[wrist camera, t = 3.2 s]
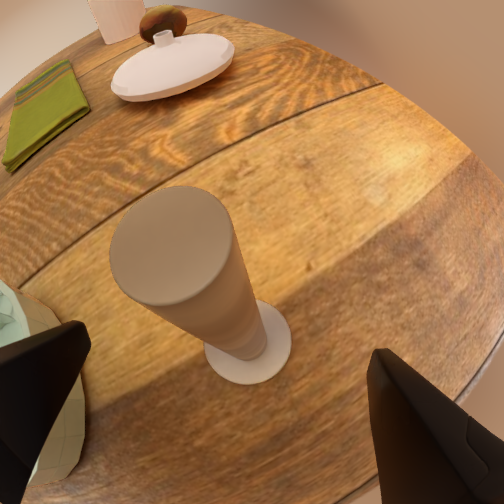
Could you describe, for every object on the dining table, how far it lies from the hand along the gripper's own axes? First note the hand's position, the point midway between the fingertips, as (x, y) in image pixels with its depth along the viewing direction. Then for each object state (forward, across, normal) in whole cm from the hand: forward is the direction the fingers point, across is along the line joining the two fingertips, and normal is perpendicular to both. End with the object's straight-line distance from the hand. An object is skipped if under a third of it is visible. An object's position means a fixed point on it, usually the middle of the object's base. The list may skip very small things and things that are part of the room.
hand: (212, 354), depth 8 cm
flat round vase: (+28, +12, -16) cm, 35 cm away
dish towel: (+32, +41, -19) cm, 55 cm away
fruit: (+40, +18, -27) cm, 51 cm away
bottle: (+51, +34, -38) cm, 72 cm away
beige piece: (+7, 0, +5) cm, 9 cm away
